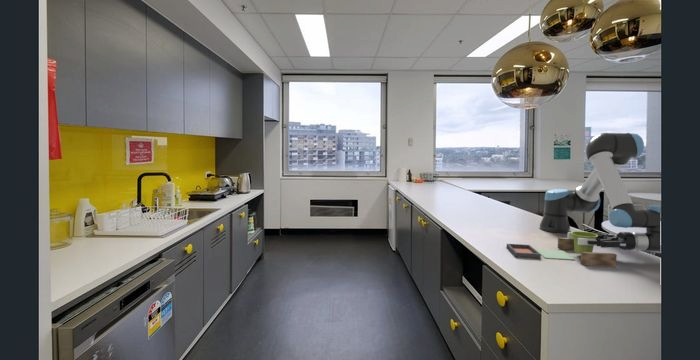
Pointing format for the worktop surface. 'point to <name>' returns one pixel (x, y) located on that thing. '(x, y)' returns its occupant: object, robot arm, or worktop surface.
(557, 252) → the pad
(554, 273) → the worktop surface
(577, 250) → the plant pot
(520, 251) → the tray
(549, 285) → the worktop surface
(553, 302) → the worktop surface
